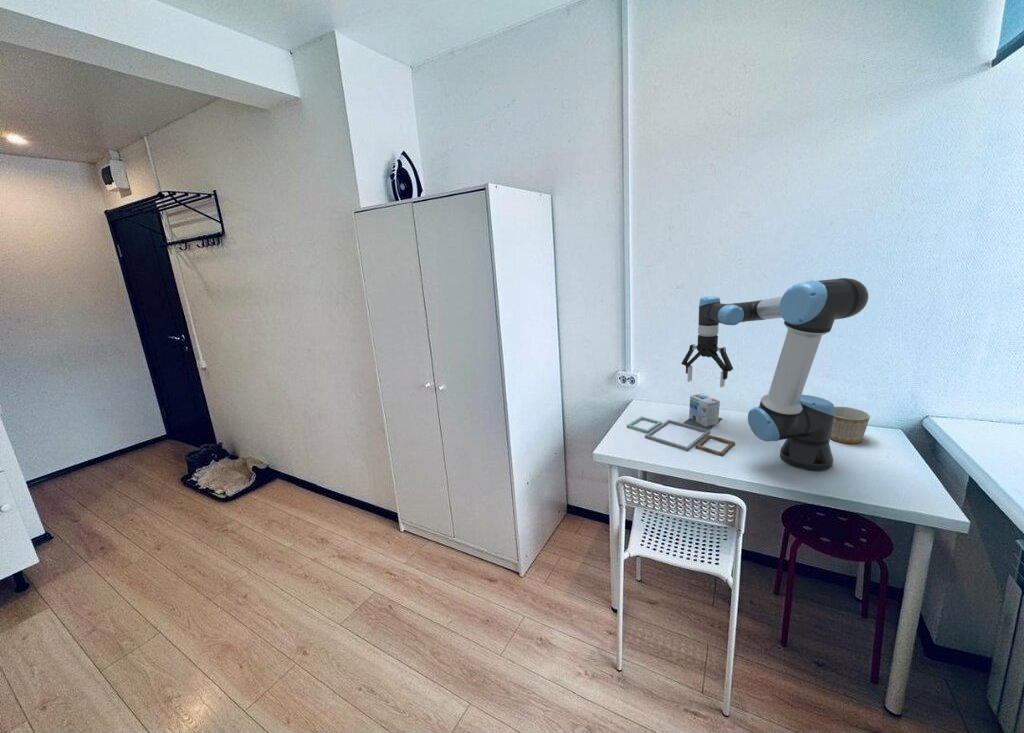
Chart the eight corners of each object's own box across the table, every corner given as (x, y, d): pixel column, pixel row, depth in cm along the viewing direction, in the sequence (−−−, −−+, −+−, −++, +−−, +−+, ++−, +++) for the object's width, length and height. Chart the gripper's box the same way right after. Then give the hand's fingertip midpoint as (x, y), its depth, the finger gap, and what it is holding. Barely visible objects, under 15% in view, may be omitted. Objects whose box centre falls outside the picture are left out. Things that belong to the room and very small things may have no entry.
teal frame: (661, 424, 179) (662, 421, 178) (647, 433, 171) (647, 431, 171) (641, 418, 186) (641, 416, 186) (626, 427, 178) (626, 424, 178)
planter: (858, 449, 147) (863, 422, 145) (817, 437, 157) (821, 413, 154) (869, 438, 154) (874, 412, 152) (829, 427, 164) (833, 403, 161)
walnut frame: (735, 444, 157) (735, 441, 157) (722, 456, 149) (722, 453, 149) (708, 437, 164) (708, 434, 164) (695, 448, 157) (695, 445, 156)
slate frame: (710, 433, 168) (710, 430, 167) (687, 451, 155) (687, 448, 155) (668, 421, 181) (668, 419, 180) (644, 437, 168) (644, 435, 168)
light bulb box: (688, 418, 182) (689, 395, 179) (700, 415, 184) (701, 392, 181) (706, 427, 172) (707, 403, 169) (718, 424, 174) (720, 400, 171)
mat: (722, 419, 179) (722, 418, 179) (708, 430, 170) (708, 430, 169) (697, 413, 187) (697, 412, 187) (682, 424, 178) (682, 423, 177)
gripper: (744, 335, 161) (740, 386, 166) (682, 330, 179) (681, 376, 184) (736, 339, 156) (733, 391, 162) (674, 333, 174) (673, 380, 180)
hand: (705, 383), depth 173 cm, fingers open, 13 cm apart
